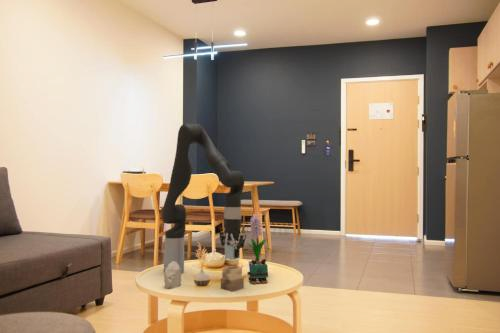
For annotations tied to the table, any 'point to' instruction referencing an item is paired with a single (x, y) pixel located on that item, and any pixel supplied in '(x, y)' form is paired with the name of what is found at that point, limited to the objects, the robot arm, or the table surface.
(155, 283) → the table surface
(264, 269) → the green toy vehicle
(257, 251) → the hyacinth
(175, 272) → the stone
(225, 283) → the walnut base
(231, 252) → the slate block
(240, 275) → the beech block
